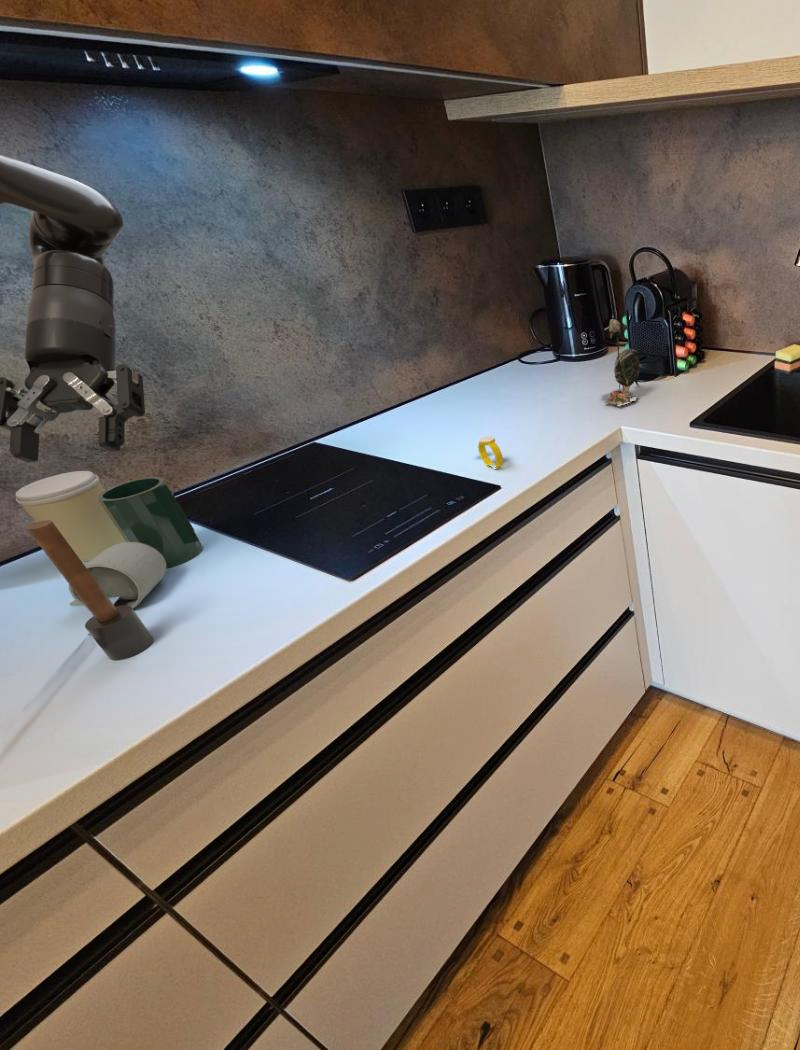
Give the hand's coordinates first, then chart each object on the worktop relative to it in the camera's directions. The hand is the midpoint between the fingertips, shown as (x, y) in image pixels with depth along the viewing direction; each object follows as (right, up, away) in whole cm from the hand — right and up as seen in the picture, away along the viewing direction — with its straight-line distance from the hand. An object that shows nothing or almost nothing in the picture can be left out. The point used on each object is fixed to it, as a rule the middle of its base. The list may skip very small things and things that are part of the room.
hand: (68, 454), depth 69 cm
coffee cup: (-23, -12, +26) cm, 37 cm away
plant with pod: (+56, +22, +74) cm, 96 cm away
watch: (+34, +3, +45) cm, 57 cm away
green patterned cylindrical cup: (-8, -13, +23) cm, 28 cm away
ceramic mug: (-6, -19, +13) cm, 24 cm away
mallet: (+3, -24, +4) cm, 24 cm away
